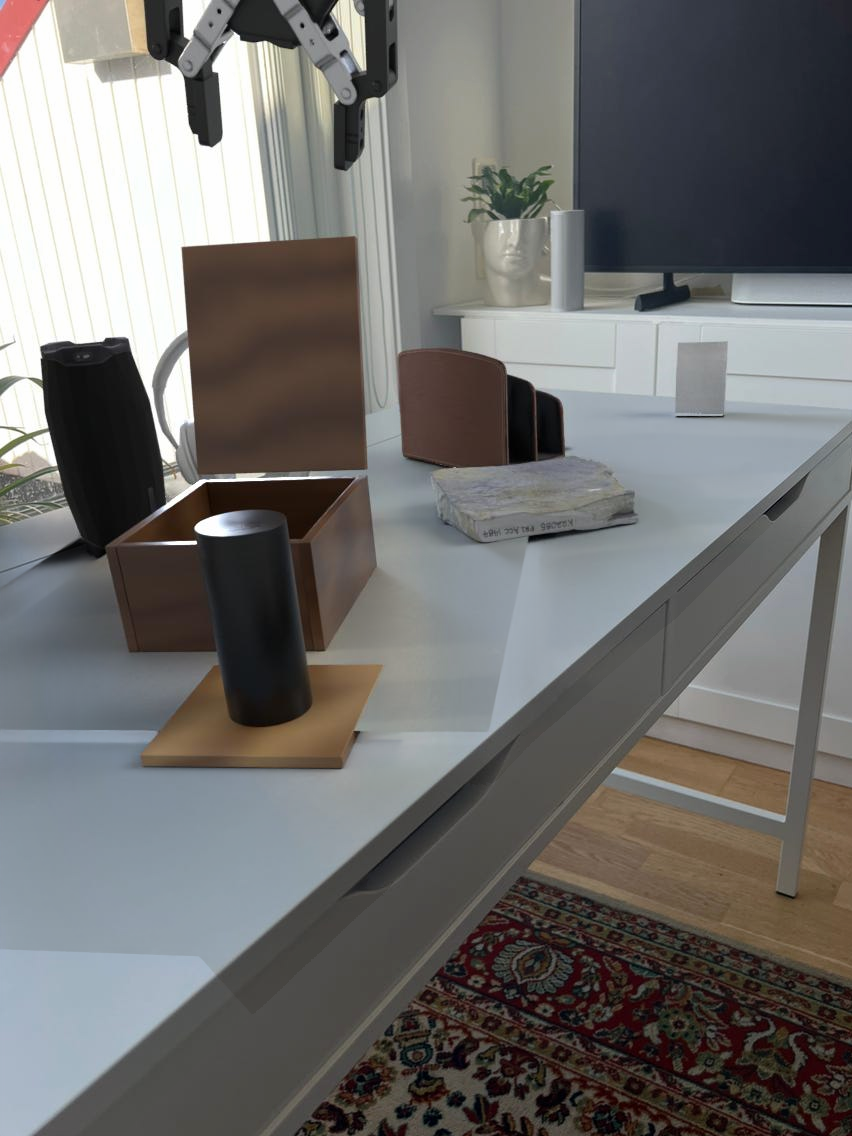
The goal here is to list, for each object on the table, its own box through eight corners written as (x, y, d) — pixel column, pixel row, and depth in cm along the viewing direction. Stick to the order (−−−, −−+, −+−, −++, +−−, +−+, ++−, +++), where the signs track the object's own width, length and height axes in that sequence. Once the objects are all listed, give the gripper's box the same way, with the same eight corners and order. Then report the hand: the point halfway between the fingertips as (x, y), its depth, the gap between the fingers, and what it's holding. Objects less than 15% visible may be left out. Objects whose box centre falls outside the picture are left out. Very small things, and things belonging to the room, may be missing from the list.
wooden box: (326, 660, 68) (310, 542, 64) (130, 661, 69) (104, 546, 66) (378, 574, 83) (367, 474, 80) (217, 576, 85) (200, 479, 82)
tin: (216, 727, 58) (179, 537, 53) (244, 688, 62) (213, 510, 58) (299, 727, 57) (270, 535, 52) (322, 687, 62) (297, 508, 57)
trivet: (141, 766, 56) (139, 754, 55) (216, 675, 66) (214, 664, 66) (343, 768, 54) (341, 756, 54) (385, 674, 65) (384, 663, 65)
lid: (355, 235, 76) (357, 238, 77) (180, 246, 78) (184, 248, 79) (365, 469, 79) (367, 469, 80) (197, 474, 81) (201, 474, 82)
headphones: (342, 483, 113) (321, 305, 105) (337, 504, 105) (314, 312, 97) (183, 494, 112) (149, 316, 104) (164, 516, 104) (127, 324, 96)
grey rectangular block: (723, 416, 135) (727, 343, 131) (675, 417, 137) (676, 344, 133) (724, 411, 138) (728, 339, 134) (677, 412, 140) (679, 341, 136)
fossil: (665, 526, 94) (583, 477, 108) (666, 481, 92) (583, 437, 106) (476, 568, 88) (416, 510, 102) (472, 521, 86) (412, 468, 100)
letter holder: (506, 481, 109) (500, 354, 104) (401, 458, 123) (390, 344, 117) (566, 464, 115) (564, 342, 109) (460, 443, 129) (453, 334, 123)
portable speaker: (65, 550, 95) (15, 346, 87) (153, 527, 101) (113, 333, 93) (101, 567, 89) (50, 350, 81) (192, 542, 95) (153, 337, 87)
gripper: (419, -175, 50) (404, 156, 61) (158, -215, 51) (191, 118, 62) (381, -164, 44) (372, 196, 56) (90, -210, 45) (139, 154, 57)
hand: (277, 154), depth 59 cm, fingers open, 8 cm apart
